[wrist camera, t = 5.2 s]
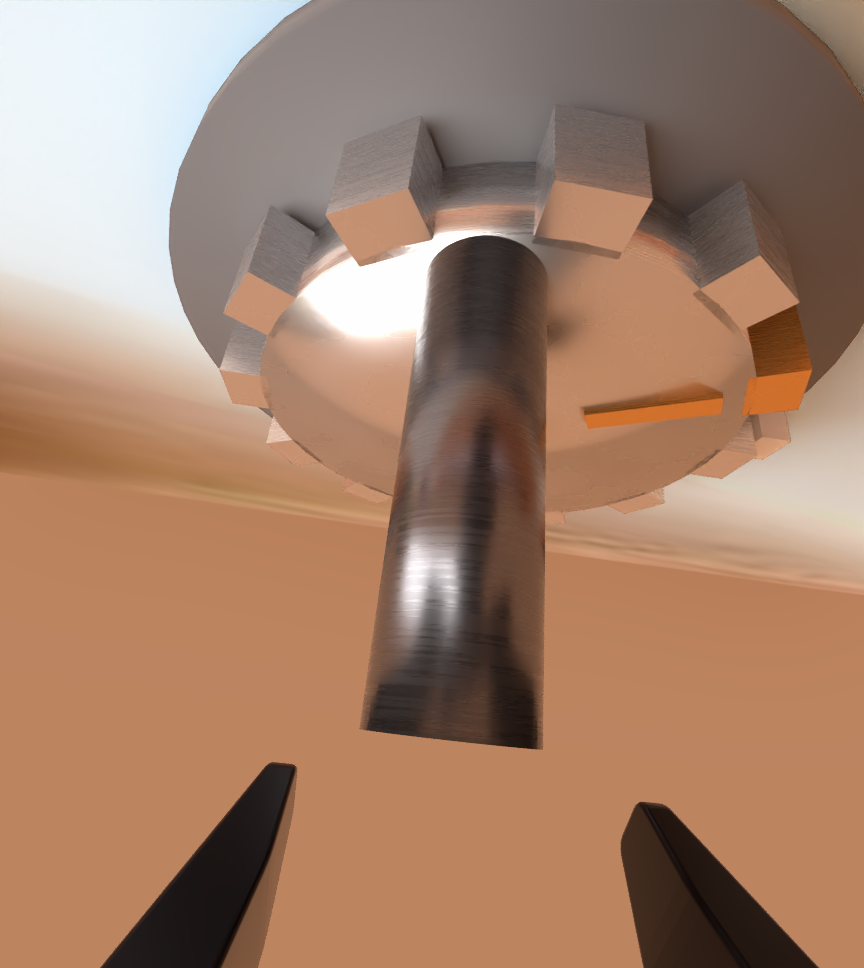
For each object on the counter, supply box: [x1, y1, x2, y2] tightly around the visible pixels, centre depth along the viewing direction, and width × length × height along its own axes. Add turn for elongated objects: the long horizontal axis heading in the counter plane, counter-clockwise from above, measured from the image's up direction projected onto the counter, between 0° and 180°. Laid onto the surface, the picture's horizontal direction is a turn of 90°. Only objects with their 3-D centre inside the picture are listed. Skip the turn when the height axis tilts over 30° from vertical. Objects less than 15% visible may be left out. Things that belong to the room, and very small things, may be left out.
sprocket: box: [220, 103, 812, 749], centre depth 14 cm, size 15×15×10 cm
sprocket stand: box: [169, 0, 864, 460], centre depth 16 cm, size 19×19×2 cm
